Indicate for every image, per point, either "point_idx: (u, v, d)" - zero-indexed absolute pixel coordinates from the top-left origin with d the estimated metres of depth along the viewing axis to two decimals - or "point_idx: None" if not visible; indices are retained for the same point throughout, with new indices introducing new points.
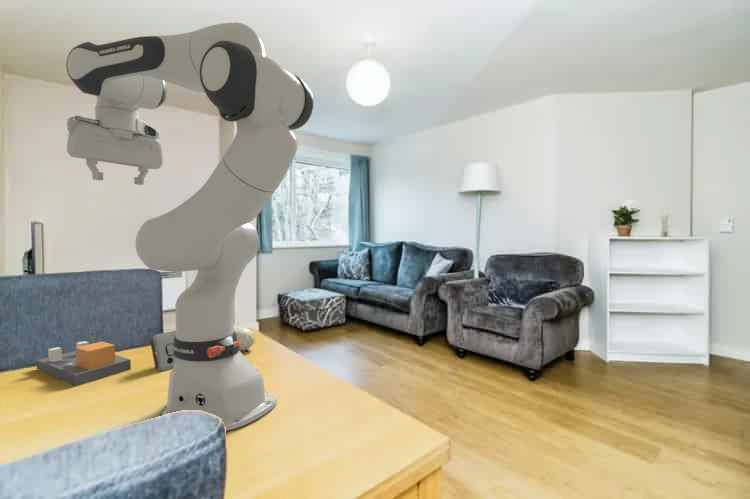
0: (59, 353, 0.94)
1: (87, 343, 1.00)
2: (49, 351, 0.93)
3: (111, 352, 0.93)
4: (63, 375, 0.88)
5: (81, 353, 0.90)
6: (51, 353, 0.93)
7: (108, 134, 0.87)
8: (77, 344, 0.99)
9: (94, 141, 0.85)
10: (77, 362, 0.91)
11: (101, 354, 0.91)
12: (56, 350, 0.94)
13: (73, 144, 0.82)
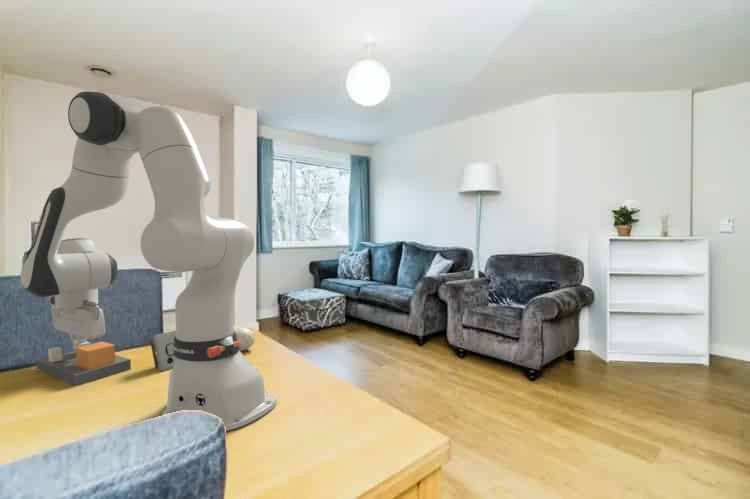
0: (59, 353, 0.94)
1: None
2: (49, 351, 0.93)
3: (111, 352, 0.93)
4: (63, 375, 0.88)
5: (81, 353, 0.90)
6: (51, 353, 0.93)
7: None
8: (79, 345, 0.98)
9: None
10: (77, 362, 0.91)
11: (101, 354, 0.91)
12: (56, 350, 0.94)
13: (103, 328, 0.97)
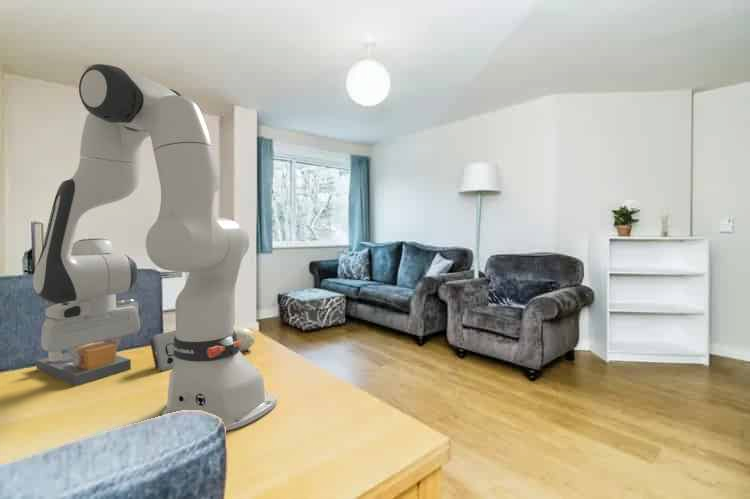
0: (59, 353, 0.94)
1: None
2: None
3: (111, 352, 0.93)
4: (63, 375, 0.88)
5: (81, 353, 0.90)
6: (51, 353, 0.93)
7: None
8: None
9: None
10: None
11: (101, 354, 0.91)
12: None
13: None
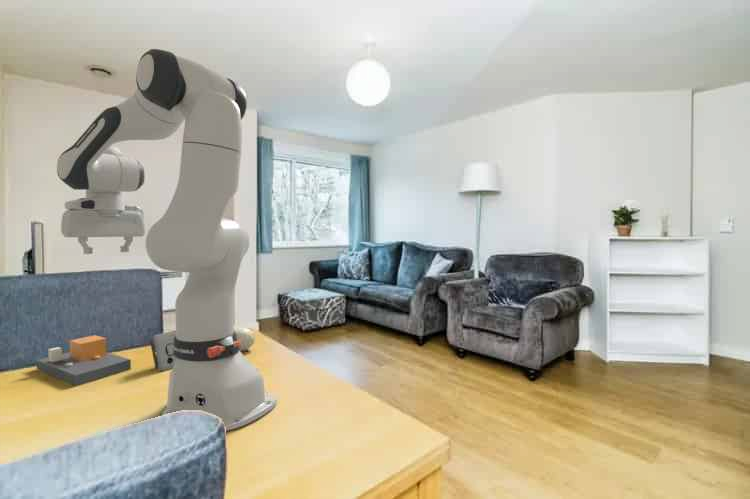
0: (59, 353, 0.94)
1: None
2: (49, 351, 0.93)
3: (103, 345, 0.98)
4: (63, 375, 0.88)
5: (74, 346, 0.95)
6: (51, 353, 0.93)
7: None
8: None
9: None
10: (71, 354, 0.97)
11: (93, 347, 0.96)
12: (56, 350, 0.94)
13: None
